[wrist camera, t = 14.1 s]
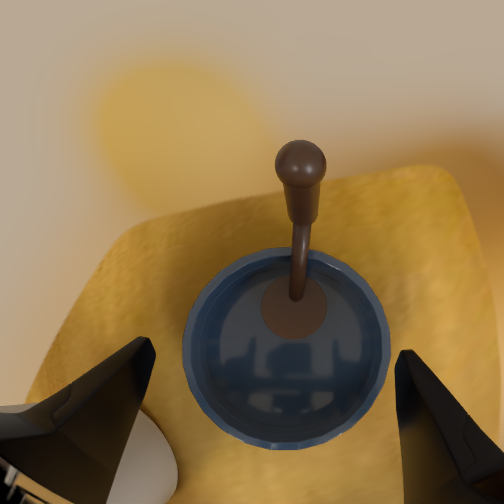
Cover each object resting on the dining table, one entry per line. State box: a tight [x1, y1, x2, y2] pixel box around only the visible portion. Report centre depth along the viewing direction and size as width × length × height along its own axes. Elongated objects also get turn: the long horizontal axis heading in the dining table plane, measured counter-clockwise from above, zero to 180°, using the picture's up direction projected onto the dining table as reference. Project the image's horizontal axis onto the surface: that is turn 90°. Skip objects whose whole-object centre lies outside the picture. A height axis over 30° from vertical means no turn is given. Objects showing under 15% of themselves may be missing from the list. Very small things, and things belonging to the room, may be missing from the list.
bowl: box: [183, 247, 391, 450], centre depth 19 cm, size 13×13×4 cm
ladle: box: [261, 140, 327, 340], centre depth 15 cm, size 8×4×12 cm, turn 170°
